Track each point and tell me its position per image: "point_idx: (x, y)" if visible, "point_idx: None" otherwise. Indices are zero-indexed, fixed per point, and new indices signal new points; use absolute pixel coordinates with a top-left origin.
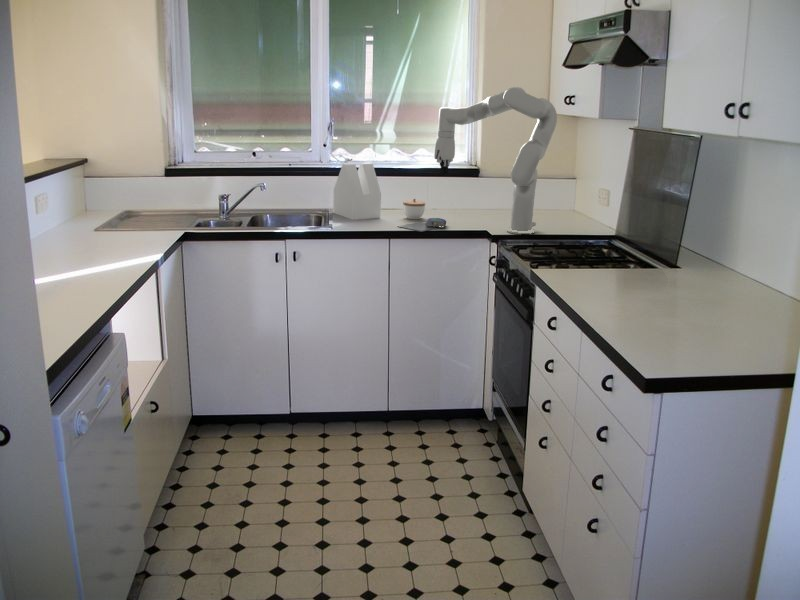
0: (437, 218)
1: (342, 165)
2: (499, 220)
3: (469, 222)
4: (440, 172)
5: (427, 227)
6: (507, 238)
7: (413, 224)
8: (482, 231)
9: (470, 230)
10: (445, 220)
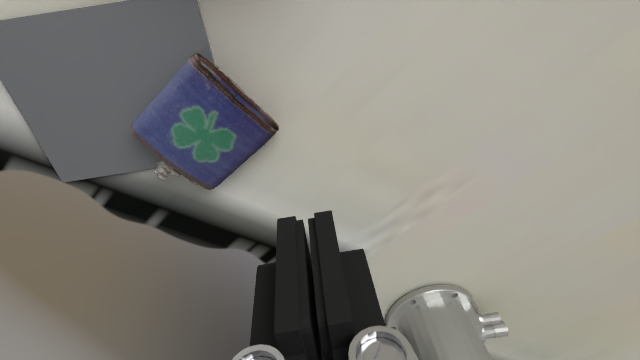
0: (237, 107)
1: None
2: (595, 147)
3: (442, 118)
4: (277, 236)
5: None
6: None
7: (99, 36)
8: None
9: None
10: (273, 131)
